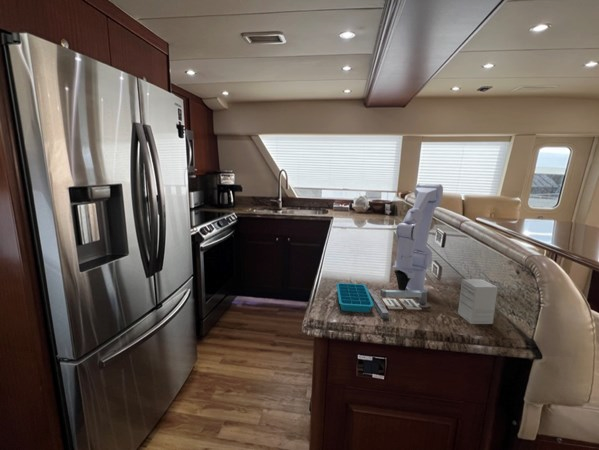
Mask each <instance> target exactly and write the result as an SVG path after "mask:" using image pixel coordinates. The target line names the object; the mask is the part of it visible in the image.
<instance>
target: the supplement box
mask: <svg viewBox="0 0 599 450" xmlns="http://www.w3.org/2000/svg"><path fill="white" fill-rule="evenodd" d="M498 289H499V287H498V286H496V285H494V284H492V283H490V282H488V281H487V280H485V279H482V278H479V279H478V278H466V279H465V278H462V279H461V285H460V292H459V293H460V294H459V304H458V310H457V314H458V315H459V316H460V317H462V318H463V319H464V320H465V321H466V322H468V323H469V324H471V325H493V324H494V318H495V317H494V316H495V310H496V302H497V296H498Z"/></svg>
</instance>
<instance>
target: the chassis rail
mask: <svg viewBox="0 0 599 450" xmlns="http://www.w3.org/2000/svg"><path fill="white" fill-rule="evenodd" d="M367 290H368V292H369V295H370V297H371V299H372V302H373V304H374V306H373V307H375V309H376V310H377V312H378V314H379V315H380V317H381V319H389V316H390V315H389V314H390V312H389V311H388V310H387V308H386V306H385V305H384V304H383V302H382V301H381V299H380V298H379V297H378V295H377V293H375V291H374V289H373V288H367Z"/></svg>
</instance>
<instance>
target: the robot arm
mask: <svg viewBox="0 0 599 450" xmlns="http://www.w3.org/2000/svg"><path fill="white" fill-rule="evenodd" d="M443 195H444V187H443V185H442V184H441V183H439V184H432V183H431V184H429V183H428V184H427V183H425V184H424V183H417V184H416V185H415V187H414V199H415V200H414V203H413V206H412V208H409V209H408V210H407V212H406V214H405V216H404V218H403V220H402V222H400V223H398V224H397V226H396V230H395V236H396V243H397V248H396V260H394V263H393V265H392V268H393V269H395V270H394V271H393V272H394V275H395V277H396V280H397V281H396V282H397V283H396V284H397V288H398V289H397V290H413V291H420V290H424V291H427V292H429V289H427V288H426V287H425V284H426V283H425V282H426V273H427V270H428V269H430V267H431V265H432V261H433V260H432V259H433V258H432V256H433V252H432V250H431V249H430V248H429V247H428V246H427V244H428V239H429V236H430V231H431V226H432V222H433V217H434V212H435V210H436V208H437V207H440V205H441V203H442V199H443Z"/></svg>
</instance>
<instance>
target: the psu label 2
mask: <svg viewBox="0 0 599 450" xmlns="http://www.w3.org/2000/svg"><path fill="white" fill-rule="evenodd" d="M398 300H399V301H400V303H401V304H402V305H403V306H404V307H405V308H406V309H407V310H419V311H421V310H422V307H419V306H418V305H417V304H416V303H415V302H416V301H415V300H414V299H413V298H398Z"/></svg>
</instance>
